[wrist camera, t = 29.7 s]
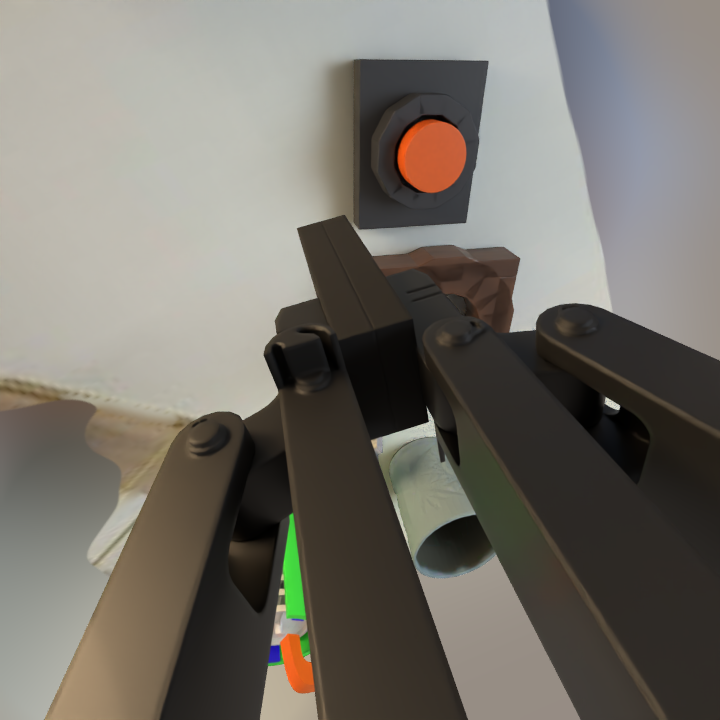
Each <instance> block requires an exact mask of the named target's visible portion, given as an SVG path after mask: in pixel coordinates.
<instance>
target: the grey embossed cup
mask: <svg viewBox="0 0 720 720" xmlns="http://www.w3.org/2000/svg"><path fill="white" fill-rule="evenodd" d="M389 474H390V478H391V482H392V485H393V489H394V492H395V493H396V494H397V500H398V506H399V509H400V514H401V517H402V520H403V524H404V527H405V531H406V533H407V536H408V543H409V547H410V551H411V555H412V559H413V563H414V566H415V568H416V569H417V570H418V571H419V572H420V573H421V574H423V575H425V576H429V577H432V578H449V577H456V576H459V575H463V574H466V573H469V572H471V571H473V570H475V569H477V568H479V567H481V566H483V565H484V564H486V563H487V562H488V561H489V560H491V559H492V558H493V557H494V556H495V555H496V553H495V551H494V549H493V547H492V545H491V543H490V541H489V539H488V537H487V535H486V533H485V531H484V529H483V527H482V525H481V524H480V522H479V520H478V518H477V516H476V514H475V512H474V510H473V508H472V506H471V504H470V502H469V500H468V498H467V496H466V494H465V492H464V490H463V488H462V486H461V484H460V482H459V481H458V479H457V477H456V475H455V473H454V471H453V469H452V467H451V465H450V463H449V461H448V459H447V457H446V455H445V462H442V463H441V462H440V457H439V452H438V445H437V438H436V437H427V438H421V439H417V440H415V441H412V442H410V443H408V444H407V445H405V446H404V447H402V448H401V449H400V450H399V451H398V452H397V453H396V454H395V455H394V457H393V459H392V460H391V462H390V468H389Z"/></svg>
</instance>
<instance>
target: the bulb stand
mask: <svg viewBox="0 0 720 720" xmlns="http://www.w3.org/2000/svg"><path fill="white" fill-rule="evenodd" d="M373 259H374V260H375V262H376V263H377V265H378V266H379V268H380V269H381V271H382V272H383V274H384V275H385V277H386V276H389V275H393V274H396V273H400V272H403V271H406V270H410V269H415V270H418V271H420V272H423V273H425V274H428V276H429V277H430V278H431V279H432V280H433V281H434V283H435V284H436V285H437V286H438V287H439V288H440V290H441V291H442V293H444V294H456V295H459V296H462V297H464V300H465V303H466V314H465V316H470V317H474V318H478V319H481V320H483V321H484V322H486V323H487V324H489V325H490V326H491V327H492V328H493V330H494V331H495V332H497V333H509V330H510V326H511V321H512V317H513V312H514V308H513V304H512V294H513V289H514V285H515V280H516V275H517V271H518V266H519V262H520V258H519V257H517V256H516V255H515V254H513V253H512V252H510V251H509V250H507V249H506V248H505V247H494V248H481V249H467V250H464V249H462V248H459V247H456V246H454V245H444V246H430V247H421V248H419V249H417V250H415V251H413V252H411V253H409V254H400V255H386V256H373Z"/></svg>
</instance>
